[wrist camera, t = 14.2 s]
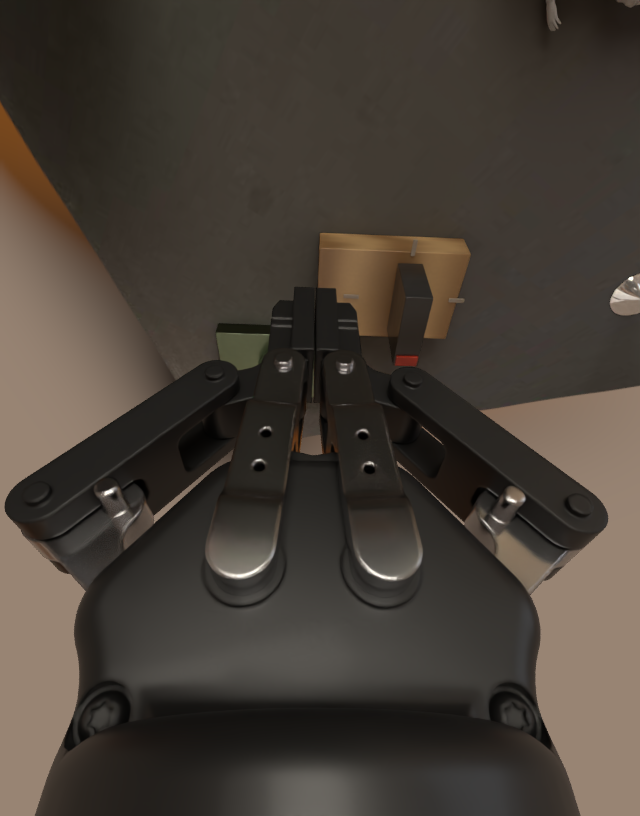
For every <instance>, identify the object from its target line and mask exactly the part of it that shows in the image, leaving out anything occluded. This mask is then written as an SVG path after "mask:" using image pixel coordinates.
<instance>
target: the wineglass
mask: <svg viewBox="0 0 640 816" xmlns="http://www.w3.org/2000/svg"><path fill="white" fill-rule="evenodd" d="M610 306H611V309H612V310H613V311H614V312H615V313H616V314H619V315H633V314H637V313H640V273H639V274H637V275H635V276H633V277H630V278H629V279H628V280H626V281H625V282H623V283H622V284H621V285H620V286H619V287H618V288H617V289H616V290H615V292H614V293H613V295H612V297H611V301H610Z"/></svg>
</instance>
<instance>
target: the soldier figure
mask: <svg viewBox="0 0 640 816" xmlns="http://www.w3.org/2000/svg"><path fill="white" fill-rule="evenodd" d="M616 1H617V2H619V3H620V2H622V3H624V5H626V6H628V7H630V8H631V7H633V6H634V5H640V0H616ZM546 3H547V7H546V11H547V23H548V26H549V29H550V30H551V31H553V30H554V31H556V29H555V27H556V28H557V29H558V26H557V24H556V21H557V22H558V23H559V24H561V22H560V20H559V19H558V16H557V8H556V4H555V0H546ZM555 19H556V21H555ZM553 24H554V26H555V27H554V26H553Z"/></svg>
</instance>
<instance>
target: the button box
mask: <svg viewBox="0 0 640 816" xmlns="http://www.w3.org/2000/svg"><path fill="white" fill-rule="evenodd" d="M270 327H271V325H247V324H221V323H219V324H218V326H217V330H216V339H217V345H218V351H219V356H220V360H222V361H227V362H229V363H231V364H233V365H234V366H235V367H236V368H237V370H243V369H248V368H251V367H254V366H256V365H258V364H260V363H261V362H262V359H263V357H264V355H265V354H266V353H267V352H268V344H269V336H270ZM312 397H314V364H313V385H312Z"/></svg>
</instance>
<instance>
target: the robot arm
mask: <svg viewBox="0 0 640 816" xmlns="http://www.w3.org/2000/svg"><path fill="white" fill-rule="evenodd" d="M313 364H314V403H320V415H319V425H320V435H321V444H322V453H323V454H321V455H308V454H304V453H300V446H301V439H302V431H303V423H304V415H305V413H306V402H308V403H312V385H313ZM422 426H423V427H424V428H425V429H426V430H428V431H429V432H430V433H431V434H433V435H434V436H435V437H436V438H437V439H439V440H440V441H441V442H442V444H443V445H442V444H441V443H440V442H439V441H437V440H436V439H435V438H434V437H432V436H431V435H430V434H429V433H428V432H426V431H425V430H424V429H423V428H422ZM232 449H234V451H233V455H232V459H231V461H230V462H227V463H225V464H223V465H222V466H220V467H218V468H217V469H215V470H214V471H212V472H211V473H210V474H209V475H207V477H205V478H204V479H203V480H202V481H201V482H200V483H199V484H198V485H196V486H195V487H194V488H193V489H192V490H191V491H190V492H189V493H188V494H187V495H185V496H184V497H183V498H182V499H181V500H180V501H179V502H178V503H177V504H176V505H174V506H173V507H172V508H171V509H170V510H169V511H168V512H167V513H166V514H165V515H163V516H162V517H161V518H160V519H159V520H158V521H157V522H155V524H154V515H155V514H156V513H157V512H159V511H160V510H161V509H162V508H163V507H165V505H167V504H168V503H169V502H171V501H172V500H173V499H174V498H175V497H176V496H178V495H179V494H180V493H181V492H182V491H183V490H185V489H186V488H187V487H188V486H189V485H191V484H192V483H193V482H194V481H196V480H197V479H198V478H199V477H200V476H201V475H203V474H204V473H205V472H206V471H207V470H209V469H210V468H211V467H212V466H213V465H215V464H216V463H217V462H218V461H219V460H220V459H221V458H223V457H224V456H225V455H227V454H228V452H230V451H231V450H232ZM396 460H397V461H398V462H399V463H400V464H401V465H402V466H403V467H404V468H405V469H407V470H408V471H409V472H410V473H411V474H412V475H413V476H414V477H415V478H416V479H415V478H414V477H413V476H412V475H411V474H409V473H408V472H407V471H405V470H403V469H402V468H400V467H398V465H397V461H396ZM418 480H419V481H420V482H421V483H422V484H423V485H424V486H425V487H426V488H427V489H428V490H430V491H431V492H432V493H433V494H434V495H435V496H436V497H437V498H438V499H439V500H441V501H442V502H443V503H444V504H445V505H446V506H447V507H448V508H449V509H450V510H451V511H452V512H454V513H455V514H456V515H457V516H458V517H459V518H460V519H462V521H463V522H464V523H465V525H463V524H462V523H461V522H460V521H459V520H458V519H457V518H455V517H454V516H453V515H452V514H451V513H450V512H449V511H448V510H447V509H446V508H445V507H444V506H443V505H442V504H441V503H440V502H439V501H438V500H437V499H436V498H435V497H434V496H433V495H432V494H431V493H430V492H429V491H428V490H427V489H426V488H425V487H424V486H423V485H422V484H421V483H420V482H419V481H418ZM5 512H6V514H7V515H8V517H9V518H10V519H11V520H12V521H13V522H14V523H15V524H16V525H17V526H18V527H19V528H20V529H21V532H22V534H23V535H24V536H25V537H26V539H27V540H28V541H29V542H30V543H31V544H32V545H33V546H34V547H35V548H36V549H37V550H38V551H39V552H40V553H41V554H42V556H43V557H45V558H46V559H49V560H50V561H51V562H52V563H53V565H55V567H56V568H57V569H58V570H60V571H61V572H63V573H67V574H71V575H72V576H73V577H74V579H75V580H76V581H77V582H78V583H79V584H80V585H81V586H82V587H83V588H84V590H85V591H86V592H85V594H84V596H83V598H82V600H81V602H80V605H79V607H78V610H77V614H76V619H75V626H74V637H75V645H76V649H77V654H78V660H79V691H78V700H77V704H76V708H75V711H74V715H73V718H72V720H71V723H70V725H69V728H68V730H67V732H66V735H65V737H64V739H63V742H62V744H61V746H60V748H59V750H58V753H57V755H56V757H55V759H54V762H53V764H52V767H51V769H50V772H49V775H48V777H47V780H46V783H45V786H44V789H43V792H42V795H41V798H40V801H39V804H38V808H37V811H36V814H35V816H580V813H579V810H578V807H577V803H576V800H575V796H574V793H573V790H572V787H571V784H570V781H569V778H568V775H567V772H566V770H565V768H564V766H563V763H562V761H561V759H560V757H559V755H558V753H557V751H556V749H555V746H554V745H553V742H552V740H551V738H550V736H549V734H548V731H547V729H546V727H545V725H544V722H543V720H542V717H541V714H540V711H539V708H538V703H537V697H536V686H535V669H536V660H537V655H538V650H539V646H540V623H539V618H538V614H537V611H536V607H535V605H534V603H533V600H532V598H531V597H530V595H531V594H532V593H533V592H534V590H535V589H536V588H537V587H538V586H539V585H540V584H541V583H542V581H545V580H548V579H550V578H552V577H553V576H554V575H555V574H556V573H557V572H558V571H559V570H560V569H561V568H562V567H564V566H565V565H566V564H567V563H568V562H569V561H570V560H571V559H572V558H573V557H574V556H575V555H577V554H578V553H579V552H580V551H581V550H582V549H583V548H584V547H585V546H586V545H587V544H588V543H589V542H591V541H592V540H593V539H594V538H595V537H596V536H597V535H598V534H599V533H600V532H601V531H602V530H603V529H604V528H605V527H606V525H607V523H608V514H607V511H606V509H605V507H604V505H603V503H602V502H601V501H600V500H599V499H598V498H597V497H596V496H595V495H594V494H593V493H591V492H590V491H589V490H587V489H586V488H585V487H583V486H582V485H580V484H579V483H578V482H576V481H575V480H574V479H572V478H571V477H569V476H568V475H567V474H565V473H564V472H563V471H561V470H560V469H558V468H557V467H556V466H554V465H553V464H552V463H550V462H549V461H548V460H546V459H545V458H543V457H542V456H541V455H539V454H538V453H536V452H535V451H534V450H532V449H531V448H530V447H528V446H527V445H526V444H524V443H523V442H521V441H520V440H519V439H517V438H516V437H515V436H513V435H512V434H510V433H509V432H508V431H506V430H505V429H504V428H502V427H501V426H500V425H498V424H497V423H495V422H494V421H493V420H491V419H490V418H488V417H487V416H486V415H485V414H483V413H482V412H480V411H479V410H478V409H476V408H475V407H474V406H472V405H471V404H469V403H468V402H467V401H465V400H464V399H463V398H461V397H460V396H458V395H457V394H456V393H454V392H453V391H452V390H450V389H449V388H448V387H446V386H445V385H443V384H442V383H441V382H439V381H438V380H437V379H435V378H434V377H432V376H431V375H430V374H428V373H427V372H425V371H423V370H421V369H419V368H415V367H402V368H399V369H397V370H395V371H394V372H393V373H392V374H391V375H388V374H384V373H381V372H378V371H375V370H373V369H372V368H370V367H369V366H367V365H366V361H365V360H364V358H363V357H362V354H361V345H360V336H359V330H358V319H357V311H356V310H355V309H354V307H353V306H352V305H351V304H350V303H339V302H337V294H336V288H316V300H315V321H314V288H312V287H294V301H284V300H280V301H279V302H278V303H277V304H276V305H275V306H274V308H273V311H272V319H271V327H270V336H269V344H268V352H267V353H266V354H265V355H264V357H263V359H262V362H261V363H260V364H258V365H256V366H254V367H251V368H248V369H243V370H237V368H236V367H235V366H234V365H233V364H231V363H229V362H227V361H222V360H213V361H208V362H205V363H203V364H201V365H199V366H198V367H196V368H194V369H193V370H191V371H190V372H188V373H187V374H185V375H184V376H182V377H181V378H179V379H178V380H176V381H175V382H173V383H171V384H170V385H168V386H167V387H165V388H164V389H162V390H161V391H159V392H158V393H156V394H154V395H153V396H151V397H150V398H148V399H147V400H145V401H144V402H142V403H141V404H139V405H137V406H136V407H135V408H133V409H131V410H130V411H129V412H127V413H125V414H124V415H122V416H121V417H119V418H117V419H116V420H114V421H113V422H111V423H110V424H108V425H107V426H105V427H104V428H102V429H101V430H99V431H97V432H96V433H94V434H93V435H91V436H90V437H88V438H87V439H85V440H84V441H82V442H80V443H79V444H77V445H76V446H74V447H73V448H71V449H70V450H68V451H67V452H65V453H64V454H62V455H60V456H59V457H57V458H56V459H54V460H53V461H51V462H50V463H48V464H47V465H45V466H44V467H42V468H40V469H39V470H37V471H36V472H34V473H33V474H31V475H30V476H28V477H27V478H25V479H24V480H22V481H21V482H19V483H18V484H17V485H16V486H15V487H14V488H13V489H12V490H11V491H10V493H9V494H8V496H7V498H6V501H5Z"/></svg>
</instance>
